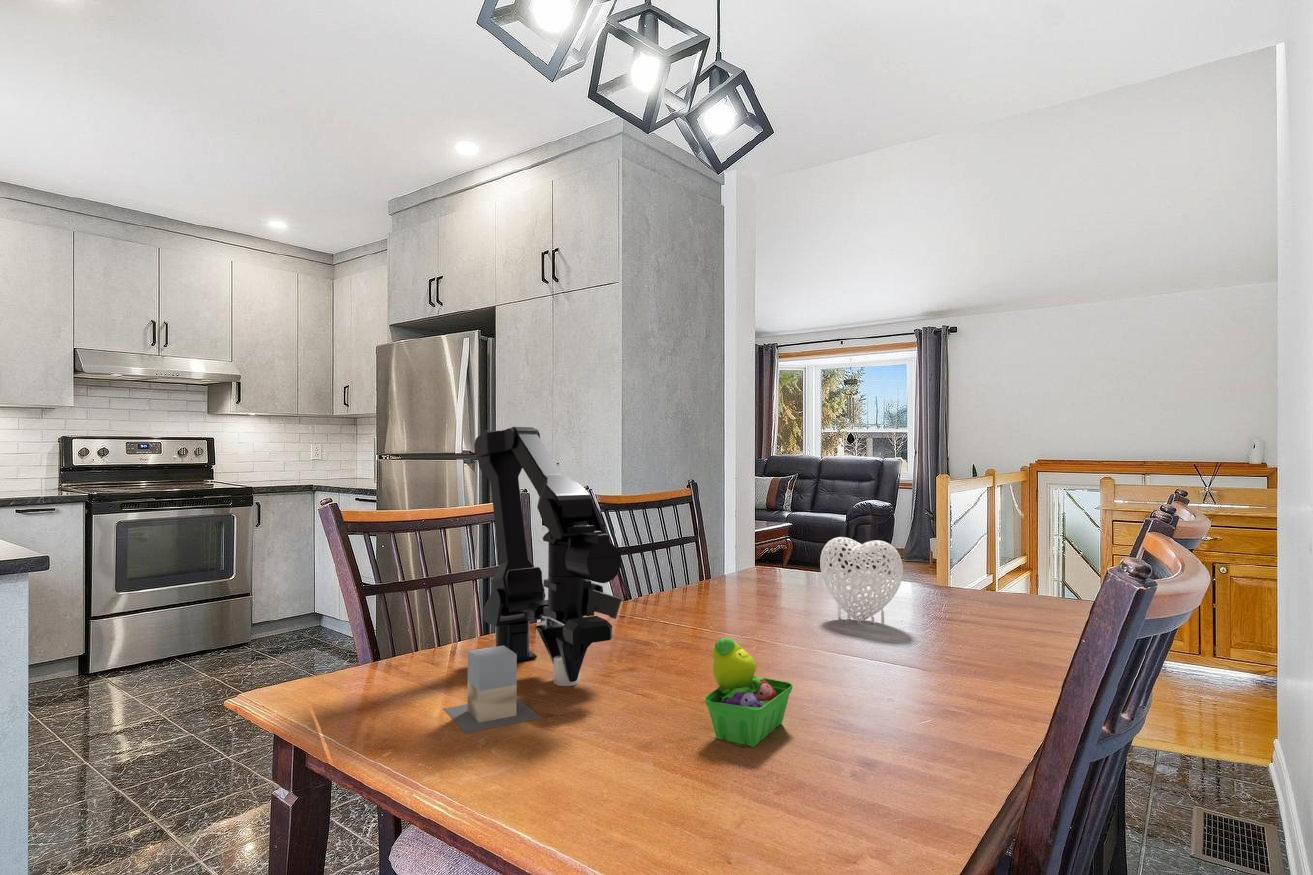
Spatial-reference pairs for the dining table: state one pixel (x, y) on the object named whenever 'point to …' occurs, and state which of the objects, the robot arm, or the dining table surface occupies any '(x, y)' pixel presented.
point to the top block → (492, 668)
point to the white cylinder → (562, 673)
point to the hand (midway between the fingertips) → (566, 677)
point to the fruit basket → (744, 697)
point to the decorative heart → (861, 576)
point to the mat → (473, 725)
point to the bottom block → (491, 703)
